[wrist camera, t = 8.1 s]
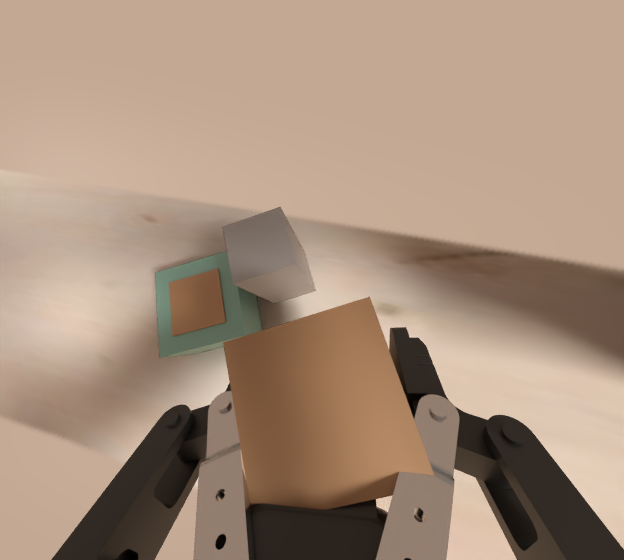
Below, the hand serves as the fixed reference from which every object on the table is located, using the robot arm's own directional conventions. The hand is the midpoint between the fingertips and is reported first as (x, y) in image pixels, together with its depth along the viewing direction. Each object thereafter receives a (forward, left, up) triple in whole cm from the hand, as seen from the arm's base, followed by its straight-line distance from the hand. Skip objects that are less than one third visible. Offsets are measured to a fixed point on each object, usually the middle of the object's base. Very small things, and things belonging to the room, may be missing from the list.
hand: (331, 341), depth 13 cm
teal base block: (+13, -8, -13) cm, 20 cm away
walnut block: (0, +2, -4) cm, 5 cm away
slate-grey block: (+4, -9, -13) cm, 16 cm away
